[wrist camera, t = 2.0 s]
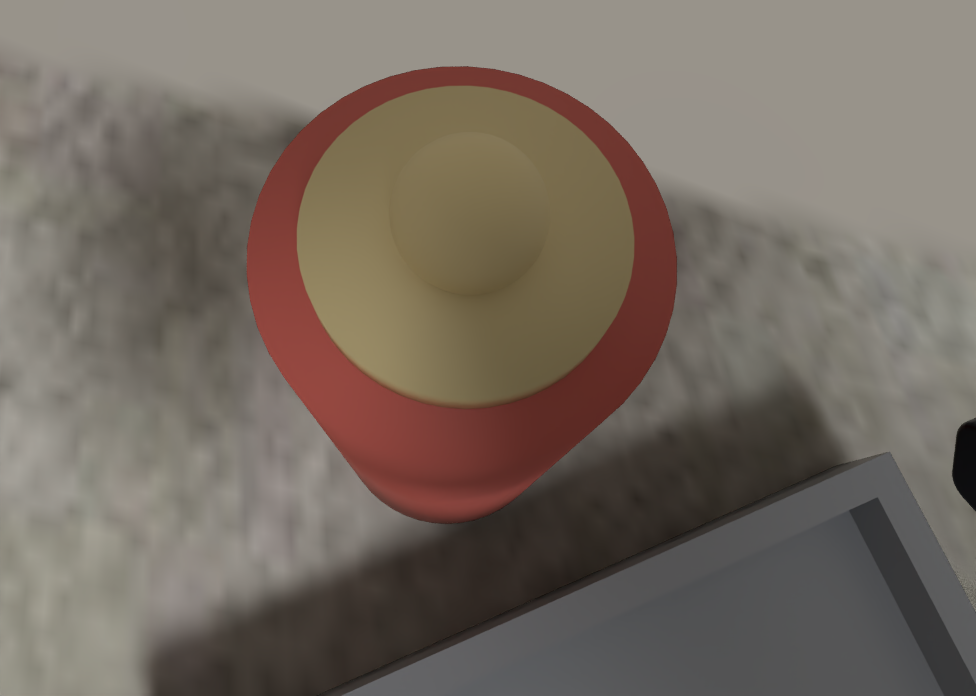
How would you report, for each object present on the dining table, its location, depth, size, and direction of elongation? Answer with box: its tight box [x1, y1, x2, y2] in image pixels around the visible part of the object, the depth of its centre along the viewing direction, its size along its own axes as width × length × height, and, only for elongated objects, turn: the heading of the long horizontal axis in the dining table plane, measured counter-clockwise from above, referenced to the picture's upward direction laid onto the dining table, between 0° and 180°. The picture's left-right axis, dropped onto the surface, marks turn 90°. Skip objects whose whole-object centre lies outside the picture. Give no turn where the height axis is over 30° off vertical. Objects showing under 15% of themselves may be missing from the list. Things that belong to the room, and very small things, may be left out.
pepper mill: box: [247, 66, 677, 524], centre depth 14 cm, size 5×5×13 cm
